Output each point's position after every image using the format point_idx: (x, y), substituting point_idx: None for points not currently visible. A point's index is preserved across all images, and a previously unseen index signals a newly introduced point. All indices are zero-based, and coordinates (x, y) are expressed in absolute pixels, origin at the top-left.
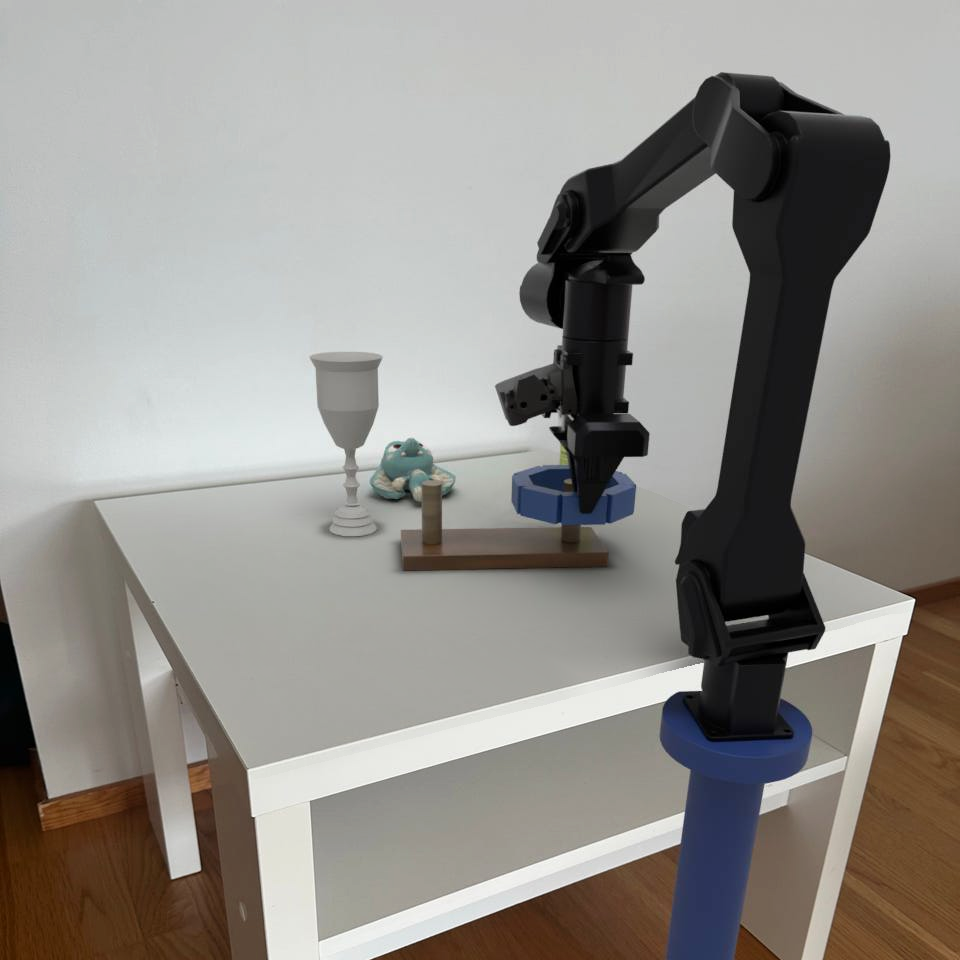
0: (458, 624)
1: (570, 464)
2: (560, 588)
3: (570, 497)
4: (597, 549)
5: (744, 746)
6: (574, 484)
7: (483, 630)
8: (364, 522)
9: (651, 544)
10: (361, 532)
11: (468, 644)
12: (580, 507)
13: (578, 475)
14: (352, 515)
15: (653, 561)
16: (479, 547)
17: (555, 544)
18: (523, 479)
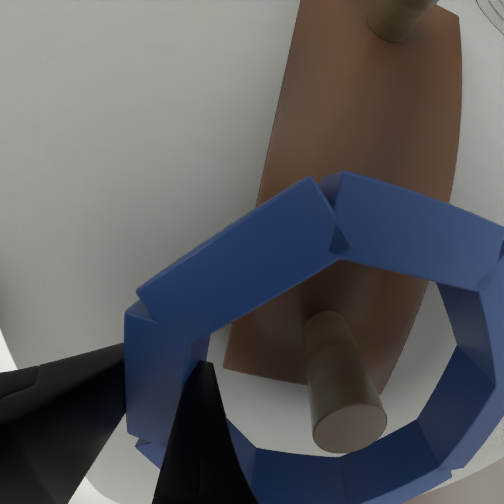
0: (76, 37)
1: (166, 453)
2: (142, 220)
3: (124, 334)
4: (243, 357)
5: None
6: (181, 399)
7: (52, 68)
8: (496, 5)
9: (311, 448)
10: (481, 2)
11: (35, 53)
12: (121, 343)
13: (9, 371)
14: None
15: (236, 423)
16: (332, 95)
17: (304, 286)
18: (440, 247)
